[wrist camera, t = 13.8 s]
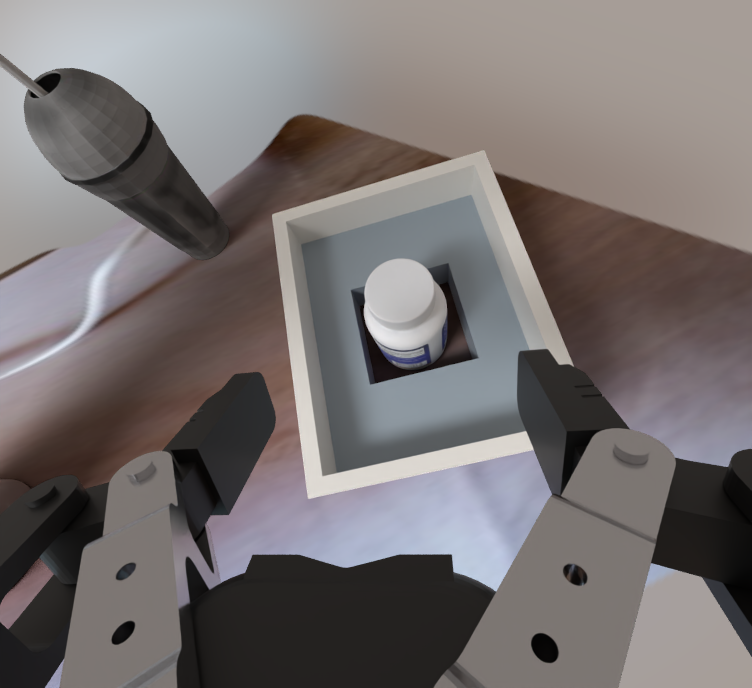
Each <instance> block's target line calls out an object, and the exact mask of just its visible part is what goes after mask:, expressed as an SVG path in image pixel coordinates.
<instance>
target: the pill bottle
mask: <svg viewBox="0 0 752 688" xmlns="http://www.w3.org/2000/svg"><path fill="white" fill-rule="evenodd" d="M364 294H365V305H364V318H365V322H366V325H367V328H368V330H369V332H370V334H371V335H372V337H373V339H374V340H375V342H376V343H377V345H378V347H379V348H380V350H381V352H382V353H383V355H384V356H385V357H386V359H387V360H388V361H389V362H391V363H392V364H393V365H395V366H397V367H399V368H402V369H406V370H418V369H422V368H425V367H427V366H429V365H431V364H432V363H434V362H435V361H436V360H437V359H438V358H439V357H440V356H441V354H442V353H443V351H444V349H445V346H446V342H447V304H446V299H445V296H444V293H443V291H442V290H441V288H440V287H439V285H438V284H437V283H436V282H435V281H434V280H433V277H432V275H431V273H430V272H429V271H428V269H427V268H426V267H424V266H423V265H422V264H420V263H419V262H416V261H414V260H411V259H404V258H401V259H393V260H389V261H387V262H384V263H383V264H381V265H379V266H378V267H377V268H376V269H375V270H374V271H373V272H372V273H371V274H370V276H369V277H368V280H367V282H366V285H365V292H364Z"/></svg>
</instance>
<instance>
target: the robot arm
mask: <svg viewBox="0 0 752 688" xmlns="http://www.w3.org/2000/svg"><path fill="white" fill-rule="evenodd" d="M517 404H518V410H519V414H520V417H521V420H522V422H523V425H524V427H525V429H526V432H527V434H528V437H529V439H530V442H531V444H532V446H533V449H534V451H535V454H536V456H537V459H538V461H539V463H540V466H541V468H542V471H543V473H544V476H545V478H546V481H547V483H548V485H549V488H550V490H551V493H552V495H551V497H550V498H549V499H548V501H547V503H546V504H545V506H544V508H543V510H542V511H541V513H540V515H539V517H538V519H537V520H536V522H535V524H534V526H533V527H532V529H531V531H530V533H529V535H528V536H527V538H526V540H525V542H524V544H523V545H522V547H521V549H520V551H519V552H518V554H517V556H516V558H515V560H514V561H513V563H512V565H511V567H510V568H509V570H508V572H507V574H506V576H505V577H504V579H503V581H502V583H501V584H500V586H499V588H498V590H497V592H496V591H494V590H493V589H491V588H490V587H488V586H486V585H484V584H482V583H481V582H479V581H477V580H474V579H472V578H469V577H467V576H464V575H461V574H458V573H454V572H453V563H452V555H396V556H392V557H388V558H385V559H381V560H377V561H373V562H369V563H365V564H361V565H357V566H354V567H349V568H343V567H338V566H335V565H332V564H328V563H325V562H322V561H318V560H315V559H311V558H308V557H305V556H301V555H252V558H251V560H250V563H249V565H248V567H247V570H246V572H245V573H243V574H240V575H238V576H235V577H232V578H230V579H228V580H226V581H224V582H222V583H221V579H220V575H219V570H218V565H217V561H216V556H215V551H214V546H213V542H212V537H211V532H210V529H209V527H208V525H207V523H206V522H207V521H208V519H209V517H210V515H229V514H230V512H231V510H232V508H233V506H234V504H235V502H236V501H237V499H238V497H239V495H240V493H241V491H242V489H243V487H244V485H245V483H246V482H247V480H248V478H249V476H250V474H251V472H252V470H253V468H254V466H255V464H256V463H257V461H258V459H259V457H260V455H261V453H262V451H263V449H264V447H265V445H266V444H267V442H268V440H269V438H270V436H271V434H272V432H273V430H274V427H275V421H276V416H275V411H274V407H273V404H272V401H271V398H270V395H269V392H268V389H267V386H266V383H265V380H264V378H263V376H262V374H261V373H259V372H253V373H241V374H235V375H234V376H233V377H232V378H231V379H230V380H229V381H228V383H227V384H226V385H225V386H224V387H223V388H222V390H220V391H219V392H217V393H216V394H214V395H213V396H211V397H210V398H209V399H207V400H206V401H205V402H204V404H203V405H202V406H201V407H200V408H199V409H198V410H197V411H198V412H197V413H195V414H194V415H193V416H192V417H191V418H190V422H187V423H186V424H185V425H184V426H183V428H182V429H181V430H180V431H179V432H178V433H177V434H176V436H175V437H174V438H173V439H172V440H171V441H170V442H169V444H168V445H167V446H166V447H165V448H164V449H163V450H162V451H155V452H150V453H147V454H144V455H142V456H139V457H137V458H135V459H134V460H132V461H130V462H129V463H127V464H126V465H124V466H123V467H122V468H121V469H119V470H118V471H117V472H116V473H115V475H114V476H113V477H112V479H111V480H110V482H109V483H105V484H102V485H98V486H94V487H91V488H87V489H84V487H83V486H82V484H81V483H80V481H79V480H78V478H77V477H76V476H74V475H63V476H59V477H55V478H52V479H50V480H47V481H45V482H43V483H41V484H39V485H37V486H35V487H34V488H32V489H30V488H29V487H28V486H27V485H26V484H24V483H23V482H21V481H17V480H14V479H0V604H1V602H2V600H3V598H4V597H5V595H6V594H7V593H8V591H9V590H10V589H11V588H12V587H13V586H14V585H15V584H16V583H17V581H18V580H19V579H20V578H21V577H22V576H23V575H24V573H25V572H26V571H27V570H28V569H29V568H30V567H31V566H32V565H33V563H34V562H35V561H36V560H37V559H38V558H39V557H40V559H41V560H42V561H43V562H44V563H45V564H46V566H47V567H48V568H49V569H50V570H51V571H52V572H53V574H54V575H53V576H52V577H51V579H50V580H49V581H48V582H47V583H46V585H45V586H44V587H43V588H42V590H41V591H40V592H39V593H38V594H37V596H36V597H35V598H34V599H33V600H32V602H31V603H30V604H29V605H28V607H27V608H26V609H25V610H24V611H23V613H22V614H21V615H20V616H19V618H18V619H17V620H16V621H15V622H14V624H13V625H12V626H11V627H10V628H9V630H8V629H7V628H6V627H5V626H4V625H2V624H1V622H0V688H45V687H46V685H47V683H48V682H49V680H50V679H51V677H52V676H53V674H54V673H55V671H56V670H57V668H58V667H59V665H60V664H61V662H62V661H63V659H64V664H63V670H62V675H61V681H60V687H59V688H618V687H619V683H620V679H621V675H622V671H623V667H624V663H625V660H626V656H627V652H628V648H629V644H630V641H631V637H632V633H633V629H634V625H635V622H636V618H637V614H638V610H639V606H640V602H641V598H642V595H643V591H644V587H645V583H646V579H647V576H648V572H649V568H650V564H651V563H653V564H657V565H660V566H664V567H668V568H671V569H675V570H678V571H682V572H686V573H689V574H693V575H697V576H701V577H702V578H703V579H704V581H705V582H706V584H707V586H708V587H709V589H710V590H711V592H712V594H713V595H714V597H715V598H716V600H717V602H718V603H719V605H720V607H721V608H722V610H723V611H724V613H725V615H726V616H727V618H728V620H729V621H730V622H731V624H732V626H733V628H734V629H735V630H736V632H737V634H738V635H739V637H740V639H741V640H742V642H743V644H744V645H745V647H746V648H747V650H748V652H749V653H750V655H751V656H752V449H746V450H742V451H739V452H737V453H736V454H734V455H733V457H732V458H731V461H730V464H729V467H723V466H717V465H711V464H705V463H699V462H693V461H688V460H683V459H678V458H675V457H674V455H673V453H672V452H671V451H670V450H669V448H668V447H666V446H665V445H664V444H663V443H661V442H660V441H659V440H657V439H655V438H653V437H651V436H649V435H647V434H644V433H641V432H638V431H634V430H630V429H629V427H628V426H627V425H626V424H625V422H624V421H623V420H622V419H621V417H620V416H619V415H618V414H617V412H616V411H615V410H614V409H613V407H612V406H611V405H610V404H609V402H608V401H607V400H606V399H605V397H602V394H601V392H600V391H599V390H598V389H597V387H594V384H593V382H592V381H591V380H590V379H589V377H588V376H587V375H586V374H585V373H584V372H582V371H580V370H579V369H577V368H575V367H574V366H572V365H570V364H563V365H559V364H558V362H557V361H556V360H555V358H554V357H553V355H552V354H551V352H550V351H549V350H548V349H537V350H525V351H520V352H519V354H518V371H517Z"/></svg>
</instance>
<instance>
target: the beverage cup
mask: <svg viewBox="0 0 752 688" xmlns="http://www.w3.org/2000/svg"><path fill="white" fill-rule="evenodd" d="M0 67H2V68H3V69H4V70H5V71H7V72H8V73H9V74H11V75H12V76H13V77H14V78H16V79H17V80H18V81H19V82H21V83H22V84H23V85H24V86H26V87H27V88H28V91H27V93H26V96H25V101H24V113H25V122H26V125H27V128H28V131H29V133H30V135H31V137H32V139H33V141H34V143H35V144H36V145H37V147H38V148H39V150H40V151H41V153H42V154H43V155H44V157H45V158H46V159H47V160H48V161H49V163H51V165H52V166H53V167H54V168H55V169H57V170H58V171H59V172H60V174H61V175H62V176H63V177H64V179H65V180H67V181H69V182H71V183H73V184H75V185H78V186H79V187H81V188H83V189H85V190H87V191H88V192H90V193H92V194H94V195H96V196H98V197H100V198H102V199H104V200H106V201H108V202H109V203H111V204H112V205H114V206H115V207H117V208H118V209H120V210H121V211H123V212H124V213H126V214H127V215H129V216H130V217H132V218H133V219H135V220H136V221H138V222H139V223H141V224H142V225H144V226H145V227H147V228H148V229H150V230H151V231H153V232H154V233H156V234H157V235H159V236H160V237H162V238H163V239H165V240H166V241H168V242H169V243H171V244H172V245H174V246H175V247H177V248H178V249H180V250H182V251H184V252H186V253H188V254H189V255H190V256H192V257H194V258H196V259H199V260H205V259H210V258H212V257H214V256H216V255H218V254H219V253H220V252H221V251H222V250H223V249H224V247H225V246H226V245H227V242H228V239H229V230H228V228H227V226H226V225H225V224H224V222H223V220H222V219H221V218H220V215H219V214H218V212H217V211H216V210H215V208H214V207H213V206H212V204H211V203H210V202H209V200H208V199H207V198H206V196H205V195H204V194H203V192H201V190H200V188H199V187H198V186H197V184H196V183H195V181H194V180H193V179H192V178H191V176H190V175H189V173H188V172H187V171H186V169H185V168H184V167H183V165H182V164H181V163H180V161H179V160H178V159H177V157H176V156H175V155H174V153H173V152H172V151H171V149H170V148H169V147H168V145H167V143H166V140H165V138H164V136H163V135H162V133H161V131H160V130H159V128H158V126H157V125H156V123H154V121H153V120H152V117H151V113H150V112H149V111H148V110H147V109H146V108H145V107H144V106H143V105H142V104H140V103H139V102H138V101H136V100H135V99H134V98H133V97H132V96H131V95H130V94H129V93H128V92H127V91H125V90H124V89H123V88H122V87H120V86H119V85H117V84H116V83H114V82H113V81H111V80H109V79H107V78H105V77H103V76H100V75H98V74H94V73H91V72H88V71H85V70H81V69H75V68H64V69H55V70H52V71H49V72H46V73H44V74H42V75H40V76H39V77H38V78H36V79H35V80H34V81H33V80H32V79H31V78H29V77H28V76H27V75H26V74H24V73H23V72H22V71H21V70H19V69H18V68H17V67H16V66H15V65H13V64H12V63H11V62H10V61H9V60H7V59H6V58H5V57H4V56H2V55H1V54H0Z"/></svg>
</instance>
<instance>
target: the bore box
mask: <svg viewBox="0 0 752 688" xmlns="http://www.w3.org/2000/svg"><path fill="white" fill-rule="evenodd" d="M272 219H273V227H274V235H275V243H276V251H277V259H278V266H279V274H280V282H281V290H282V298H283V306H284V314H285V321H286V329H287V337H288V345H289V353H290V361H291V368H292V376H293V384H294V392H295V400H296V408H297V416H298V423H299V431H300V439H301V447H302V455H303V463H304V471H305V478H306V486H307V494H308V499H310V498H314V497H319V496H324V495H328V494H333V493H338V492H342V491H347V490H351V489H356V488H361V487H365V486H370V485H374V484H379V483H384V482H388V481H393V480H397V479H402V478H407V477H411V476H416V475H420V474H425V473H430V472H434V471H439V470H444V469H448V468H453V467H457V466H462V465H467V464H471V463H476V462H480V461H485V460H490V459H494V458H499V457H503V456H508V455H513V454H517V453H522V452H527V451H531V450H534V449H533V446H532V444H531V442H530V439H529V437H528V434H527V432H526V429H525V427H524V425H523V422H522V420H521V417H520V414H519V410H518V404H517V371H518V354H519V352H520V351H525V350H537V349H548V350H549V351H550V352H551V354H552V355H553V357H554V358H555V360H556V361H557V362H558V364H559V365H563V364H570V365H572V366H574V365H573V363H572V361H571V358H570V356H569V353H568V351H567V349H566V346H565V344H564V341H563V339H562V336H561V334H560V332H559V329H558V327H557V324H556V322H555V320H554V317H553V315H552V312H551V310H550V307H549V305H548V303H547V300H546V298H545V295H544V293H543V291H542V288H541V286H540V283H539V281H538V278H537V276H536V274H535V271H534V269H533V266H532V264H531V262H530V259H529V257H528V254H527V252H526V249H525V247H524V245H523V242H522V240H521V237H520V235H519V233H518V230H517V228H516V225H515V223H514V220H513V218H512V216H511V213H510V211H509V208H508V206H507V204H506V201H505V199H504V196H503V194H502V191H501V189H500V187H499V184H498V182H497V179H496V177H495V175H494V172H493V170H492V168H491V165H490V163H489V160H488V158H487V155H486V153H485V150H482V151H479V152H476V153H472V154H469V155H466V156H462V157H459V158H456V159H452V160H449V161H446V162H443V163H439V164H436V165H433V166H429V167H426V168H423V169H420V170H416V171H413V172H410V173H406V174H403V175H400V176H397V177H393V178H390V179H387V180H383V181H380V182H377V183H373V184H370V185H367V186H364V187H360V188H357V189H354V190H350V191H347V192H344V193H341V194H337V195H334V196H331V197H327V198H324V199H321V200H317V201H314V202H311V203H308V204H304V205H301V206H298V207H294V208H291V209H288V210H285V211H281V212H278V213H275V214H272ZM401 258H404V259H411V260H414V261H416V262H419V263H420V264H422V265H423V266H424V267H426V268H427V269H428V271H429V272H430V273H431V275H432V277H433V280H434V281H435V282H436V283H437V284H438V285H439V284H443V283H447V282H448V284H449V287H450V290H451V293H452V296H453V300H454V303H455V306H456V309H457V312H458V316H459V319H460V322H461V325H462V328H463V332H464V335H465V338H466V341H467V344H468V348H469V351H470V354H471V357H472V360H469V361H465V362H461V363H457V364H453V365H449V366H445V367H441V368H436V369H432V370H428V371H424V372H420V373H416V374H412V375H408V376H404V377H400V378H396V379H392V380H388V381H384V382H380V383H375V378H374V374H373V369H372V364H371V359H370V354H369V350H368V345H367V340H366V335H365V331H364V326H363V321H362V316H361V311H360V307H359V306H362V305H365V294H364V292H365V285H366V282H367V280H368V277H369V276H370V274H371V273H372V272H373V271H374V270H375V269H376V268H377V267H378V266H379V265H381V264H383V263H384V262H387V261H389V260H393V259H401Z"/></svg>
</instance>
